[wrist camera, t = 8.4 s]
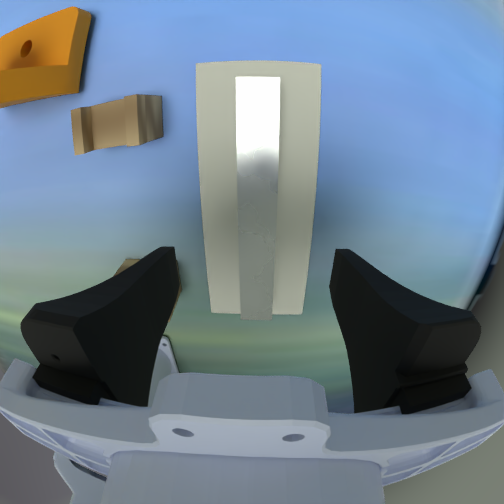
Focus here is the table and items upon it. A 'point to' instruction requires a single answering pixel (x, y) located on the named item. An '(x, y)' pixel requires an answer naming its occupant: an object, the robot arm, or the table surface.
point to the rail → (257, 191)
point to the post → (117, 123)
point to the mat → (289, 177)
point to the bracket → (43, 57)
